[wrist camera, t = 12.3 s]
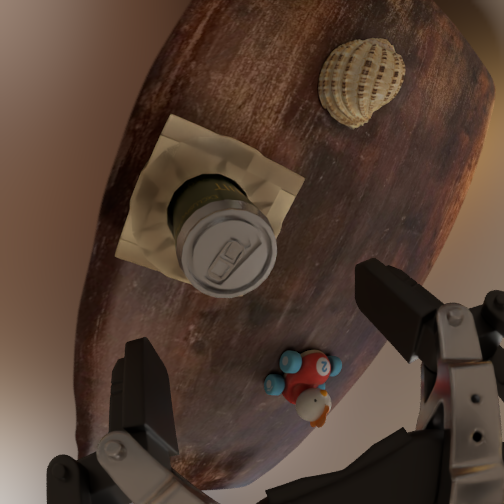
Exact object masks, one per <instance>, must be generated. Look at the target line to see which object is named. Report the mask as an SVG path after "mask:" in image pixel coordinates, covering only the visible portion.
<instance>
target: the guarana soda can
mask: <svg viewBox="0 0 504 504" xmlns="http://www.w3.org/2000/svg"><path fill="white" fill-rule="evenodd" d="M172 213H173V226H174V237H175V248H176V255H177V259H178V263H179V267H180V268H181V270H182V271H183V273H184V274H185V275H186V277H187V278H188V280H189V281H190V283H191V284H192V285H193V286H194V287H195V288H197V289H198V290H199V291H201V292H202V293H204V294H207V295H210V296H213V297H216V298H232V297H236V296H240V295H244V294H246V293H248V292H250V291H251V290H253V289H255V288H257V287H258V286H259V285H260V284H261V283H262V282H263V281H264V280H265V279H266V278H267V277H268V275H269V273H270V272H271V270H272V268H273V267H274V264H275V259H276V255H277V245H276V238H275V236H274V232H273V229H272V227H271V224H270V222H269V220H268V218H267V217H266V216H265V215H264V214H263V213H262V212H261V211H260V210H259V209H258V208H257V207H256V206H255V205H254V204H253V203H252V202H251V201H250V200H249V199H248V198H247V197H246V196H245V195H244V194H242V193H241V192H240V191H239V190H238V189H237V188H236V187H235V186H234V185H233V184H232V183H231V182H230V181H229V180H228V179H227V178H225V177H224V176H223V175H220V174H201V175H199V176H196V177H194V178H191V179H189V180H186V181H185V182H184V183H183V184H182V185H181V186H180V187H179V188H178V189H177V190H176V191H175V192H174V194H173V196H172Z"/></svg>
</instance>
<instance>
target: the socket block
mask: <svg viewBox="0 0 504 504" xmlns="http://www.w3.org/2000/svg"><path fill="white" fill-rule="evenodd" d="M201 174H220V175H223V176H225V177H227V178H229V179H231V181H232V184H233V185H234V186H235V187H236V188H237V189H238V190H239V191H240V192H241V193H242V194H244V195H245V196H246V197H247V198H248V199H249V200H250V201H251V202H252V203H253V204H254V205H255V206H256V207H257V208H258V209H259V210H260V211H261V212H262V213H263V214H264V215H265V216H266V217H267V218H268V220H269V222H270V224H271V227H272V229H273V232H274V236H275V238H277V236H278V234H279V232H280V230H281V226H282V221H283V220H284V218H285V216H286V214H287V212H288V210H289V208H290V206H291V205H292V203H293V201H294V199H295V196H296V195H297V193H298V192H299V190H300V188H301V186H302V184H303V182H304V180H305V178H304V177H302V176H300V175H298V174H296V173H295V172H293V171H291V170H289V169H287V168H285V167H283V166H282V165H280V164H278V163H276V162H274V161H272V160H270V159H268V158H266V157H264V156H263V155H262V154H261V153H260V152H259V151H258V150H257V149H255V148H253V147H251V146H249V145H247V144H245V143H242V142H240V141H238V140H236V139H234V138H232V137H229V136H224V135H219V134H217V133H215V132H213V131H210V130H208V129H206V128H204V127H201V126H199V125H197V124H195V123H192V122H190V121H188V120H185V119H183V118H181V117H178V116H176V115H173V114H170V116H169V118H168V120H167V122H166V124H165V126H164V129H163V131H162V133H161V135H160V137H159V139H158V141H157V144H156V146H155V148H154V150H153V153H152V155H151V157H150V160H149V161H148V162H147V163H146V165H145V166H144V168H143V170H142V172H141V174H140V176H139V179H138V181H137V184H136V186H135V189H134V192H133V194H132V197H131V200H130V210H129V213H128V216H127V219H126V222H125V225H124V228H123V231H122V234H121V237H120V240H119V243H118V246H117V249H116V253H115V257H117V258H120V259H123V260H126V261H129V262H132V263H135V264H138V265H141V266H144V267H147V268H150V269H153V270H156V271H159V272H162V273H163V274H164V275H166V276H167V277H170V278H173V279H176V280H180V281H183V282H186V283H189V284H191V283H190V281H189V280H188V278H187V277H186V275H185V274H184V273H183V271H182V270H181V268H180V267H179V263H178V259H177V255H176V248H175V237H174V226H173V218H172V215H171V213H170V211H169V208H168V206H169V203H170V201H171V199H172V196H173V194H174V192H175V191H176V190H177V189H178V188H179V187H180V186H181V185H182V184H183V183H184V182H185V181H186V180H189V179H191V178H194V177H196V176H199V175H201ZM240 296H243V295H240Z"/></svg>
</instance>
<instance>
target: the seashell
mask: <svg viewBox="0 0 504 504" xmlns="http://www.w3.org/2000/svg"><path fill="white" fill-rule="evenodd" d="M404 76H405V64H404V62H403V60H402V57H401V55H398V54H397V53H396V52H395V50H394V47H393V45H391V44H390V43H389V42H388V39H381V38H380V39H378V38H376V39H374V38H371V39H367V40H364V41H362V40H360V39H359V40H353V41H350V42H348V43H345V44H343V45H340V46H338V47H337V48H336V49H334V50H333V51H332V52H331V54H330V55H329V56H328V58H327V59H326V61H325V63H324V65H323V67H322V70H321V73H320V77H319V84H318V90H319V97H320V101H321V104H322V106H323V107H324V109H325V108H327V110H328V111H329V113H330V114H331V116H332V117H333V118H335V119H336V120H337V121H338V122H339V123H341V124H344V125H346V126H348V127H350V128H351V129H354V128H358V127H359V125H360V126H363V124H364V123H367V122H368V119H370V118H371V116H372V113H373V112H374V111H375V110H378V109H379V108H381V107H382V106H383V105H385V104H387V103H388V102H390V101H391V100H392V99H393V98H394V97H395V96H396V95H397V93H398V91H399V90H400V88H401V85H402V83H403V80H404Z"/></svg>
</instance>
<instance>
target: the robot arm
mask: <svg viewBox="0 0 504 504" xmlns="http://www.w3.org/2000/svg"><path fill="white" fill-rule="evenodd" d="M355 300H356V303H357V305H358V307H359V309H360V310H361V312H362V313H363V314H364V315H365V316H366V317H367V318H368V319H369V320H370V321H371V322H372V323H373V324H374V326H375V327H376V328H377V329H378V330H379V331H380V332H381V333H382V334H383V335H384V336H385V338H386V339H387V340H388V341H389V342H390V343H391V344H392V345H393V346H394V347H395V349H396V350H397V351H398V352H399V353H400V354H401V355H402V356H403V358H404V359H405V360H406V361H407V362H408V363H409V364H410V363H411V362H413V361H414V360H416V359H418V358H419V359H420V360H421V361H422V364H421V403H420V412H419V416H418V420H417V424H416V430H415V431H412V432H408V433H407V432H406V430H405V429H404V428H403V427H402V428H401V429H399V430H397V431H396V432H394V433H393V434H391V435H389V436H388V437H386V438H384V439H382V440H381V441H379V442H377V443H375V444H374V445H372V446H371V447H370V448H369V449H368V450H367V451H366V452H365V453H363V454H362V455H361V456H360V457H359V458H358V459H356V460H355V461H354V462H353V463H351V464H350V465H349V466H348V467H346V468H345V469H343V470H340V471H336V472H332V473H327V474H322V475H316V476H311V477H305V478H300V479H298V480H295V481H292V482H289V483H286V484H284V485H281V486H278V487H275V488H272V489H268V490H266V491H265V492H266V494H267V497H266V498H264V499H262V500H261V501H259V502H258V503H256V504H504V442H502V434H501V419H500V408H499V399H498V396H499V397H500V398H501V399H502V401H503V402H504V349H503V348H502V347H501V346H500V345H499V344H500V342H501V340H502V338H503V337H504V292H503V291H499V290H494V291H490V292H489V293H487V295H486V297H485V300H484V303H483V305H479V306H476V307H473V308H469V309H468V308H467V307H465V306H463V305H461V304H458V303H447V304H443V303H442V302H441V301H440V300H438V299H437V298H436V297H435V296H434V295H432V294H431V293H430V292H429V291H427V290H426V289H425V288H424V287H422V286H421V285H420V284H417V282H416V281H415V280H413V279H412V278H410V277H409V276H408V275H407V274H406V273H404V272H403V271H402V270H400V269H397V268H395V267H392V266H389V265H388V266H385V265H384V264H383V263H381V262H380V261H379V260H377V259H376V258H371V259H369V260H366V261H364V262H361V263H359V264H357V265H356V267H355ZM111 383H112V385H111V395H110V411H109V433H108V434H106V435H105V436H104V437H103V438H102V439H101V440H100V442H99V444H98V446H97V451H96V452H94V453H92V454H90V455H88V456H86V457H83V458H81V459H79V460H77V461H76V460H74V459H73V458H72V457H70V456H68V455H58V456H56V457H54V458H53V459H52V460H51V462H50V463H49V466H48V468H47V504H129V503H132V502H133V503H134V504H220V503H218V502H216V501H215V500H213V499H212V498H210V497H209V496H207V495H206V494H205V493H203V492H202V491H201V490H199V489H198V488H197V487H195V486H194V485H193V484H191V483H190V482H189V481H188V480H186V479H185V478H184V477H183V476H181V475H180V474H179V473H178V472H177V471H175V470H174V469H173V468H172V467H171V465H170V459H169V457H170V456H175V455H179V450H178V444H177V438H176V431H175V425H174V417H173V410H172V402H171V393H170V384H169V377H168V373H167V370H166V368H165V366H164V364H163V362H162V360H161V359H160V357H159V356H158V354H157V353H156V351H155V349H154V348H153V346H152V344H151V343H150V341H149V340H148V338H147V337H143V338H140V339H136V340H133V341H129V342H127V343H126V345H125V357H124V358H121V359H118V361H117V363H116V365H115V367H114V369H113V371H112V380H111Z"/></svg>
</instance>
